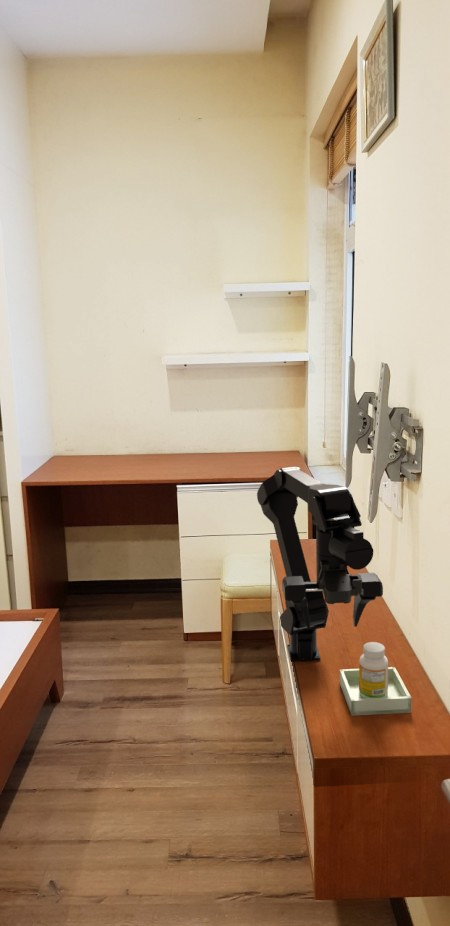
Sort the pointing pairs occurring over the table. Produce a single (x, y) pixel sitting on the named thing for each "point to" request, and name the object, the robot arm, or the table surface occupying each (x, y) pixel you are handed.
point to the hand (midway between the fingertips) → (331, 627)
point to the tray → (391, 704)
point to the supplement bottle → (373, 671)
